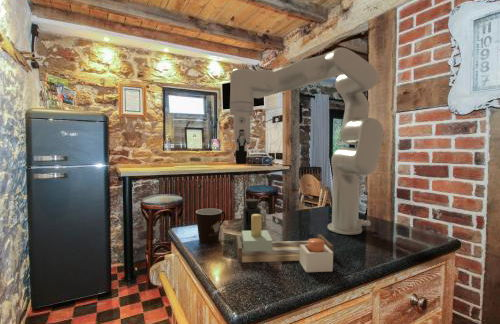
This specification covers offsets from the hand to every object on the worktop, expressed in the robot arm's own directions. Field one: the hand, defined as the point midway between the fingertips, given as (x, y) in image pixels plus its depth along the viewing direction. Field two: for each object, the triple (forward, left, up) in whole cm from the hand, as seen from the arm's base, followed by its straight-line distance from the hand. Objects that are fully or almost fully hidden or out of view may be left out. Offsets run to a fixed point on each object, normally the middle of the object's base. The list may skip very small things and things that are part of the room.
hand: (240, 162), depth 89 cm
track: (-12, +10, -26) cm, 31 cm away
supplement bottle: (-5, -11, -27) cm, 29 cm away
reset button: (-19, +19, -22) cm, 35 cm away
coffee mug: (+9, -3, -27) cm, 28 cm away
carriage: (-4, +10, -24) cm, 26 cm away
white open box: (-19, +19, -26) cm, 38 cm away
